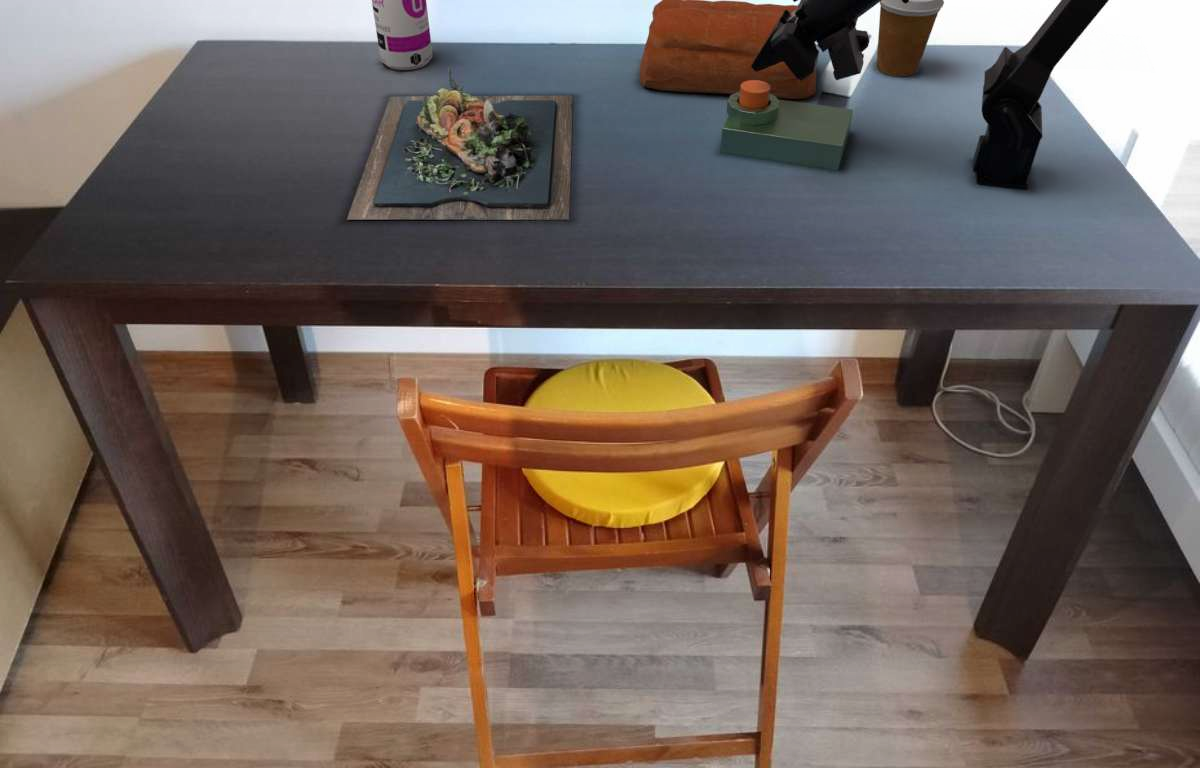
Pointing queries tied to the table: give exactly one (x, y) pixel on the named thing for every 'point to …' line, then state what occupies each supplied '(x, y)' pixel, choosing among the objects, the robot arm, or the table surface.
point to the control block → (787, 132)
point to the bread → (715, 48)
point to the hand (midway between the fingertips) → (753, 68)
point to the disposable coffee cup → (904, 34)
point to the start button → (754, 94)
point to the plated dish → (469, 159)
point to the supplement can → (403, 33)
